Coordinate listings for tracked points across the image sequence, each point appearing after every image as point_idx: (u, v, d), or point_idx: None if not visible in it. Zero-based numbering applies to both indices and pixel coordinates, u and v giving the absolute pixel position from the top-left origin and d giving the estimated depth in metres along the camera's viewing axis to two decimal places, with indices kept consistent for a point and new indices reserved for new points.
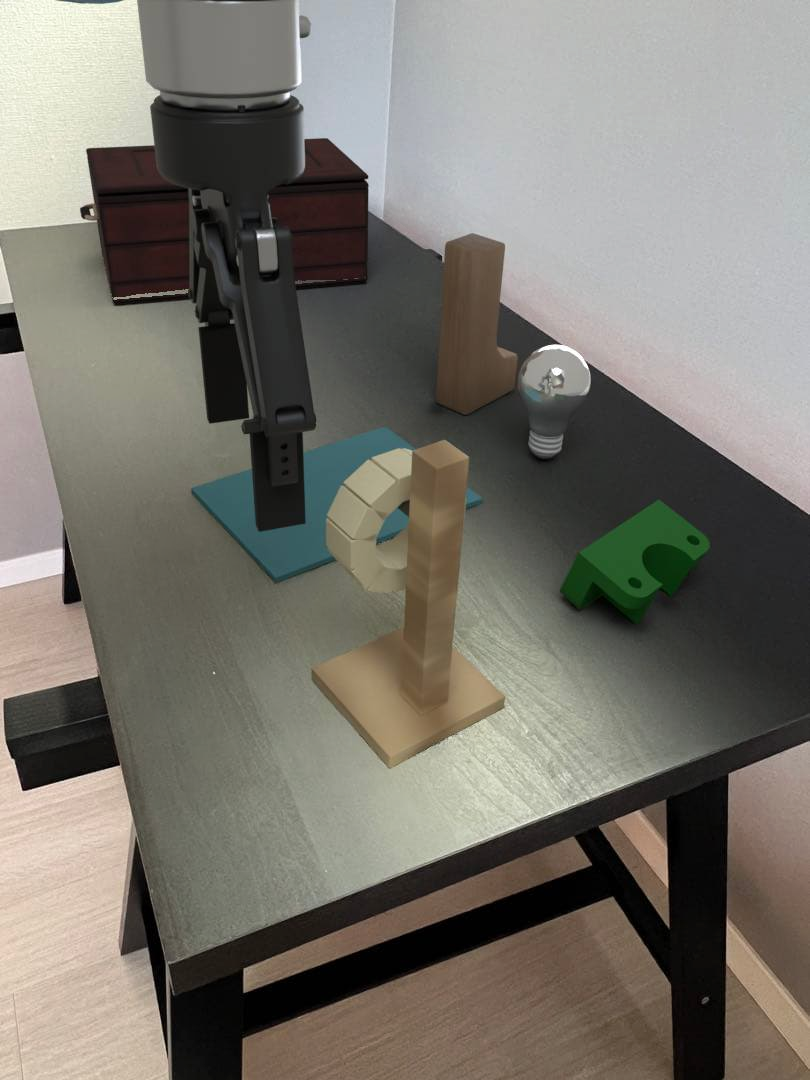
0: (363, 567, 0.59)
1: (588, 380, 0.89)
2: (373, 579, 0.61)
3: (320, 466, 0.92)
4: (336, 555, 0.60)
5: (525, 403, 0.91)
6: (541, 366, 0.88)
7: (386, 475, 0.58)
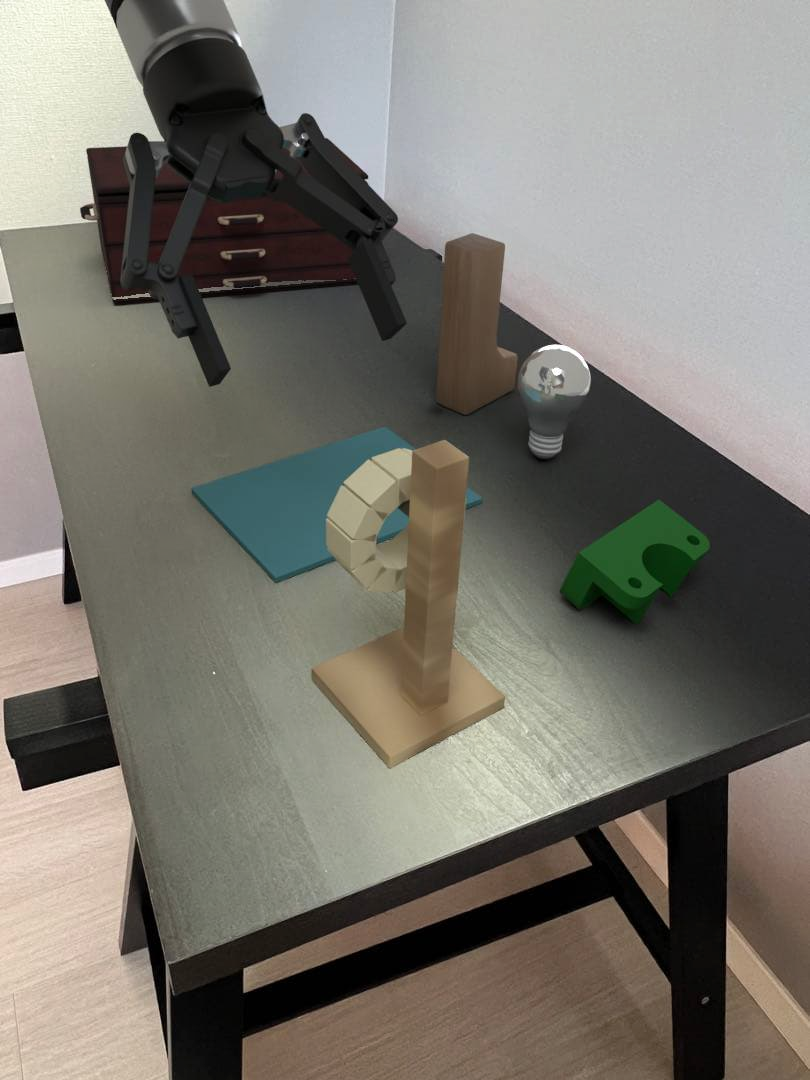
0: (363, 567, 0.59)
1: (588, 380, 0.89)
2: (373, 579, 0.61)
3: (320, 466, 0.92)
4: (336, 555, 0.60)
5: (525, 403, 0.91)
6: (541, 366, 0.88)
7: (386, 475, 0.58)
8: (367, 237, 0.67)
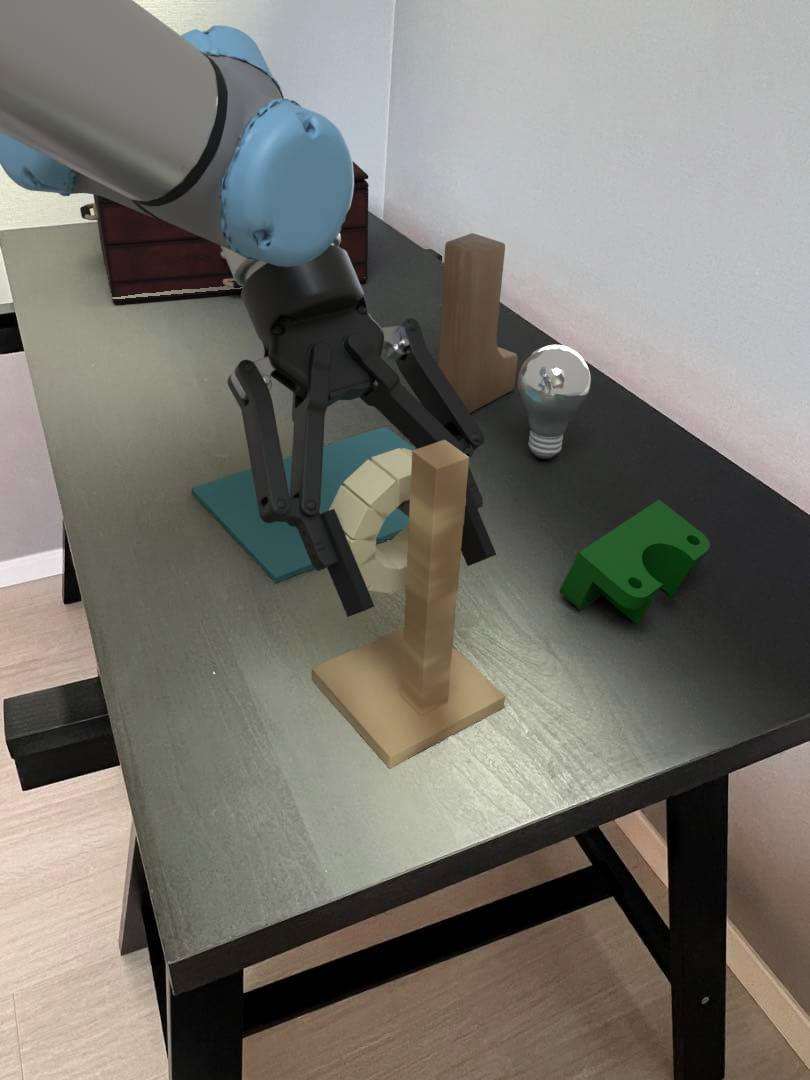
0: (363, 567, 0.59)
1: (588, 380, 0.89)
2: (373, 579, 0.61)
3: None
4: None
5: (525, 403, 0.91)
6: (541, 366, 0.88)
7: (386, 475, 0.58)
8: None
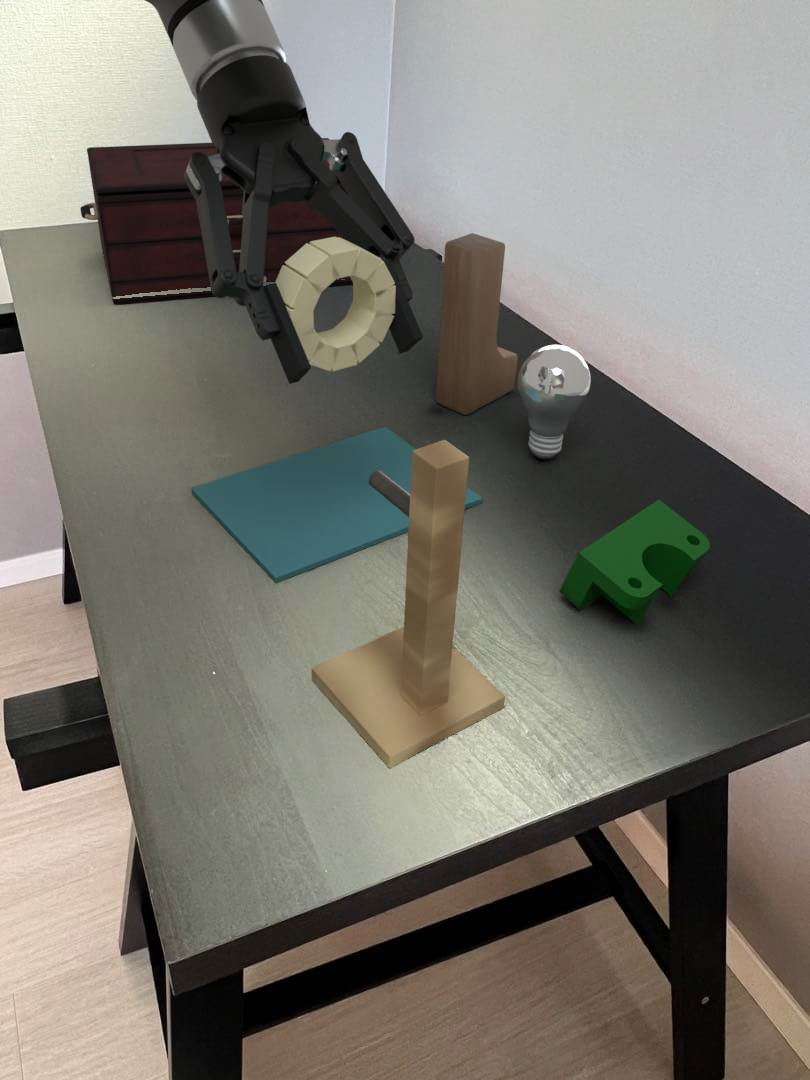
0: (302, 339, 0.68)
1: (588, 380, 0.89)
2: (312, 353, 0.69)
3: (320, 466, 0.92)
4: None
5: (525, 403, 0.91)
6: (541, 366, 0.88)
7: (321, 252, 0.66)
8: (385, 255, 0.72)
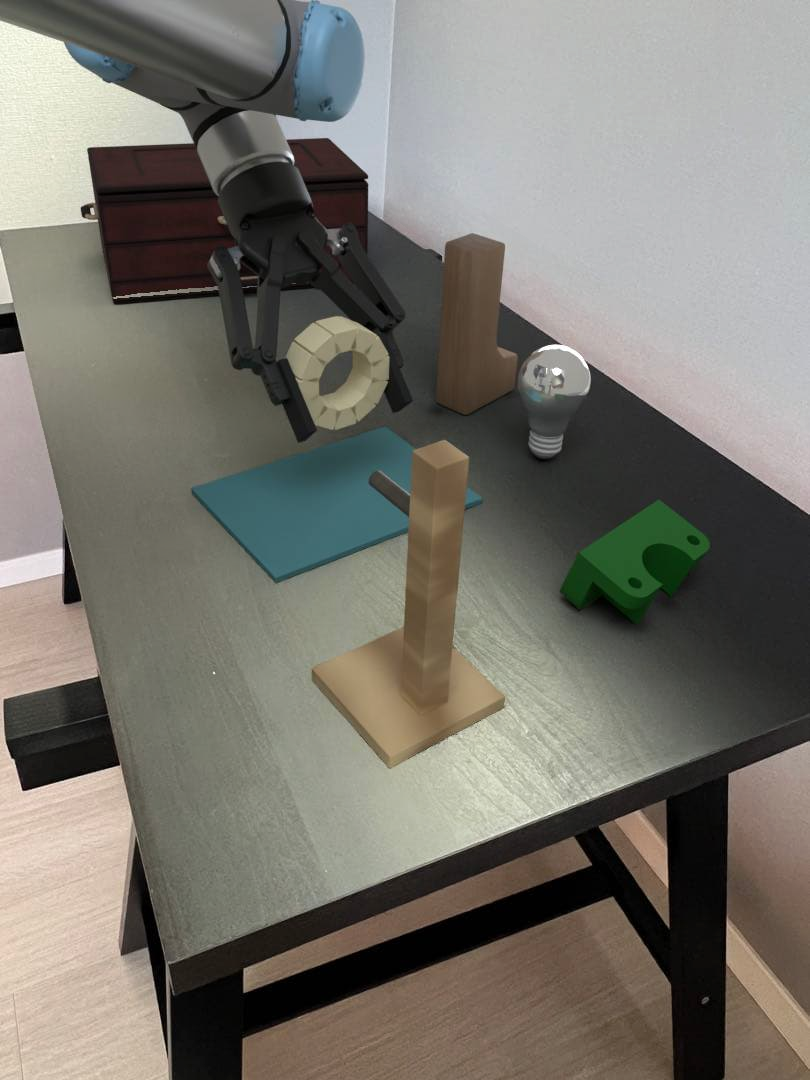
0: (309, 404, 0.79)
1: (588, 380, 0.89)
2: (318, 415, 0.80)
3: (320, 466, 0.92)
4: None
5: (525, 403, 0.91)
6: (541, 366, 0.88)
7: (325, 332, 0.77)
8: (380, 329, 0.83)
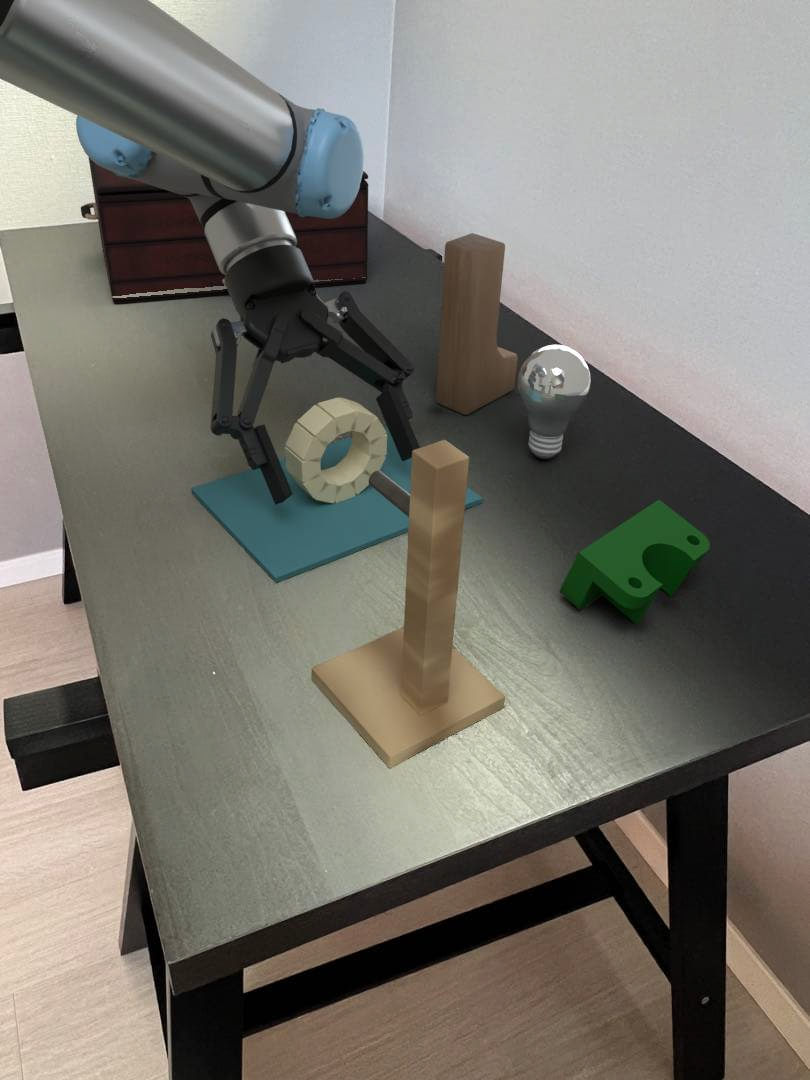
0: (311, 481, 0.84)
1: (588, 380, 0.89)
2: (319, 491, 0.85)
3: None
4: (292, 473, 0.84)
5: (525, 403, 0.91)
6: (541, 366, 0.88)
7: (326, 415, 0.82)
8: (391, 384, 0.88)
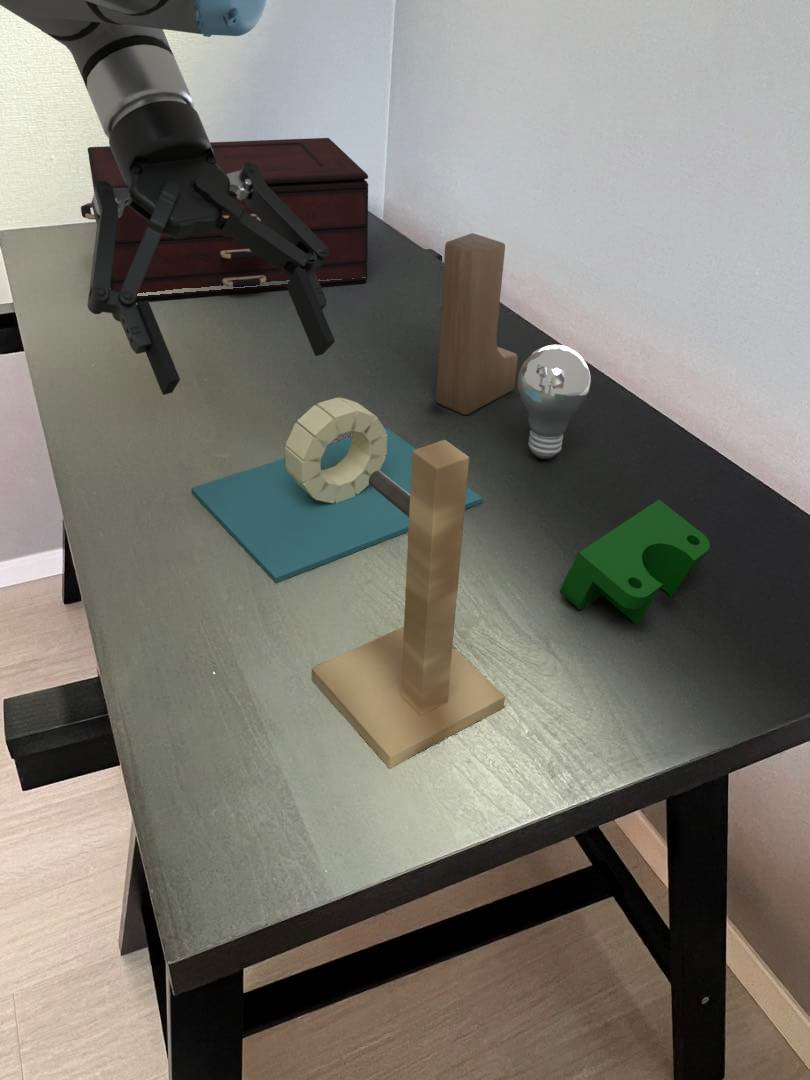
0: (311, 481, 0.84)
1: (588, 380, 0.89)
2: (319, 491, 0.85)
3: None
4: (292, 473, 0.84)
5: (525, 403, 0.91)
6: (541, 366, 0.88)
7: (326, 415, 0.82)
8: (302, 267, 0.78)
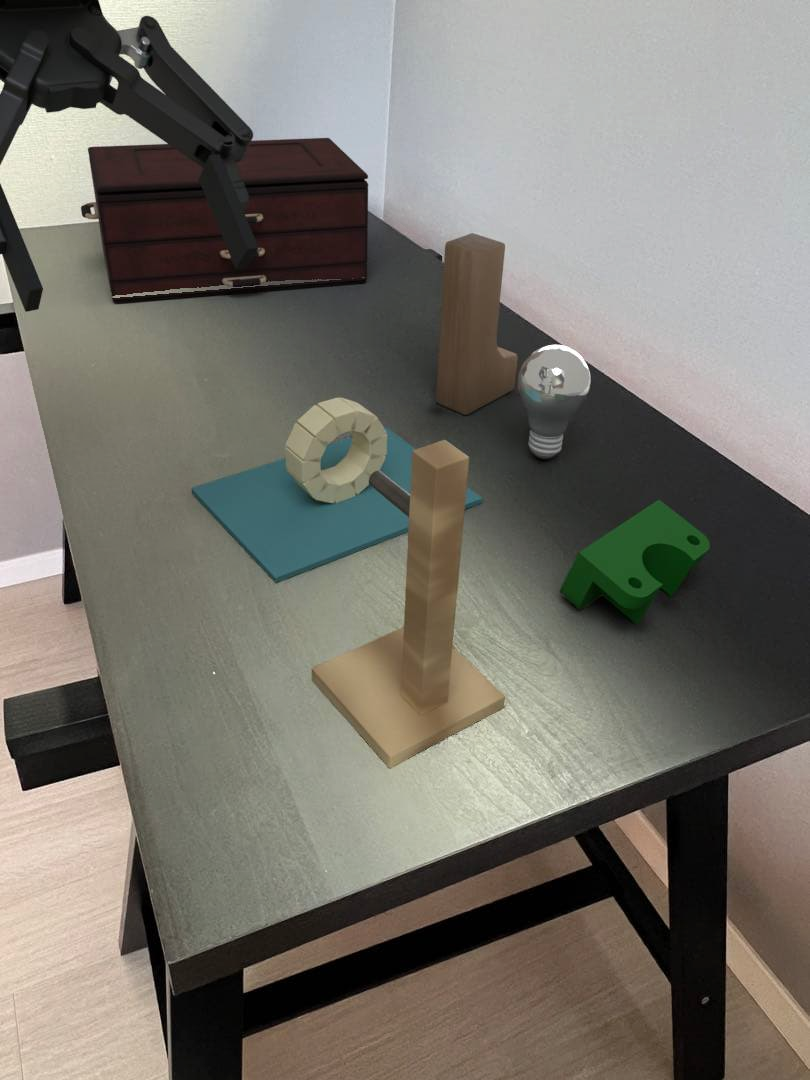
0: (311, 481, 0.84)
1: (588, 380, 0.89)
2: (319, 491, 0.85)
3: None
4: (292, 473, 0.84)
5: (525, 403, 0.91)
6: (541, 366, 0.88)
7: (326, 415, 0.82)
8: (216, 153, 0.60)
